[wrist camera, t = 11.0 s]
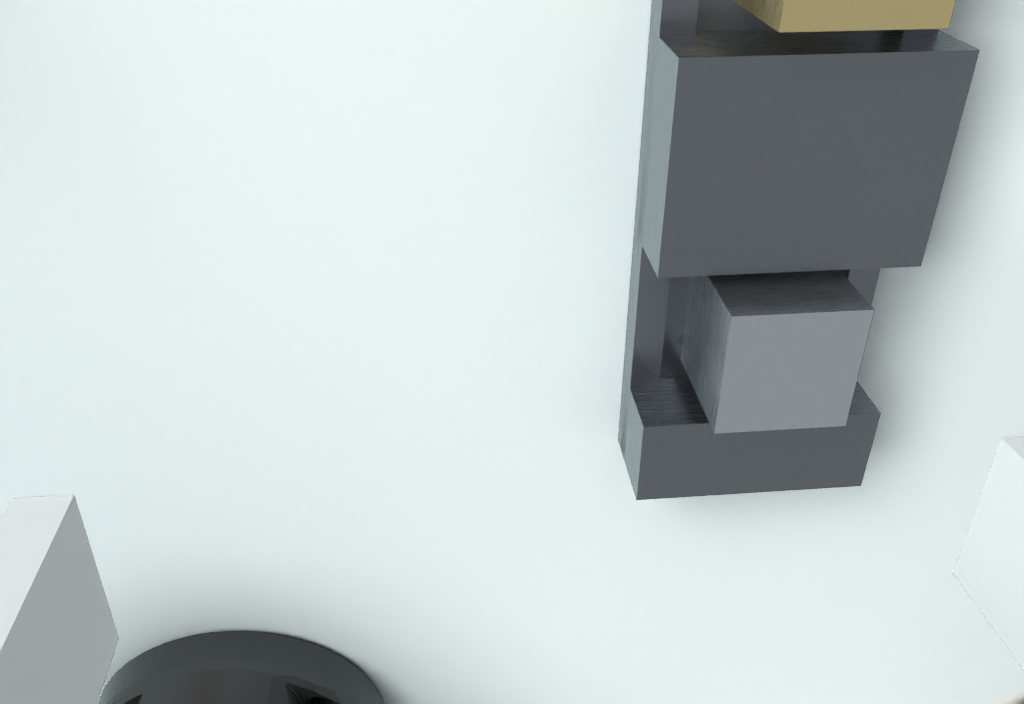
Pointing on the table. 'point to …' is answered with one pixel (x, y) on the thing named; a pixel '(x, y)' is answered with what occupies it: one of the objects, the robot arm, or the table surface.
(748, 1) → the sand colored cube
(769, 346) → the brushed aluminum cube
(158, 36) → the table surface
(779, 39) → the grey stepped block holder
